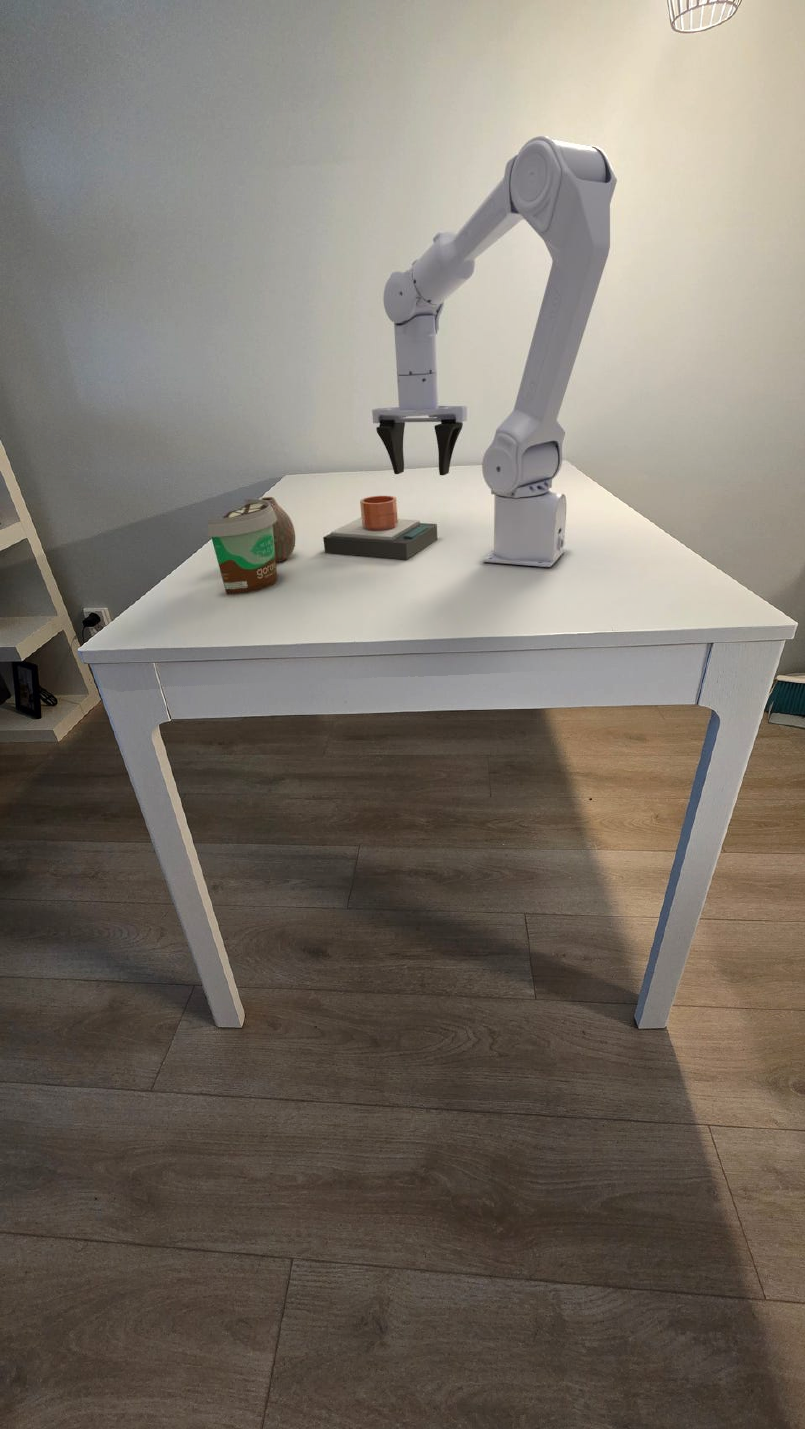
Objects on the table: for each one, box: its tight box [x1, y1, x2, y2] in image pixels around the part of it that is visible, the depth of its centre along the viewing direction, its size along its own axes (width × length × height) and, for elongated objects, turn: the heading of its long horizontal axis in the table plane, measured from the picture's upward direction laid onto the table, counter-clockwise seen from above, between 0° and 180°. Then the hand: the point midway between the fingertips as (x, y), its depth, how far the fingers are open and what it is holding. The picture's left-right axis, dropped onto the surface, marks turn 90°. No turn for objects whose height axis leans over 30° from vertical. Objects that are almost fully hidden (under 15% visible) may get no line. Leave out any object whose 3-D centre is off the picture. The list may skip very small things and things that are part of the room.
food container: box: [206, 497, 278, 595], centre depth 85 cm, size 12×6×10 cm, turn 168°
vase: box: [259, 496, 296, 563], centre depth 95 cm, size 7×7×9 cm
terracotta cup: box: [359, 495, 399, 531], centre depth 97 cm, size 5×6×4 cm
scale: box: [322, 516, 438, 561], centre depth 99 cm, size 14×11×3 cm
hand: (421, 473), depth 99 cm, fingers open, 7 cm apart
